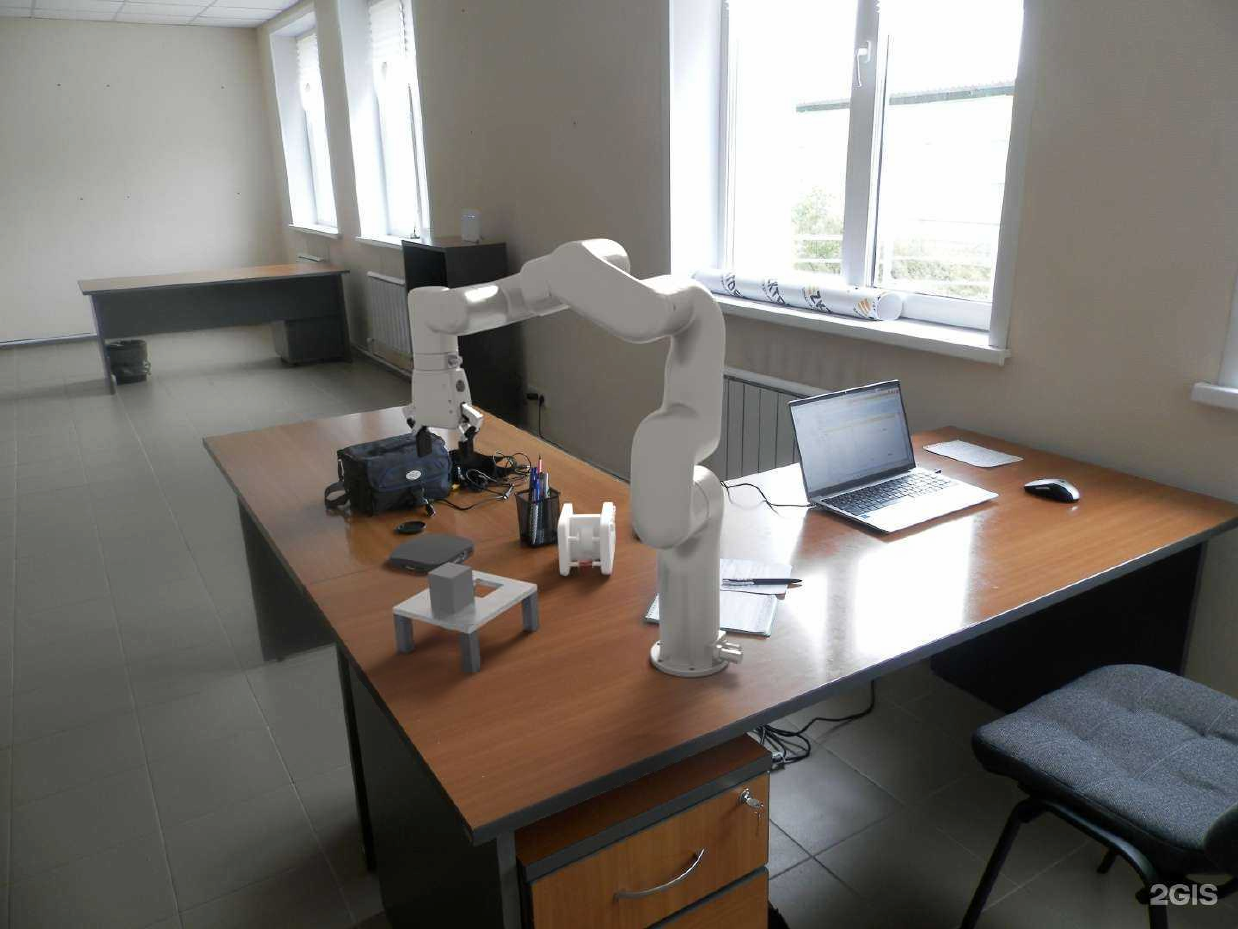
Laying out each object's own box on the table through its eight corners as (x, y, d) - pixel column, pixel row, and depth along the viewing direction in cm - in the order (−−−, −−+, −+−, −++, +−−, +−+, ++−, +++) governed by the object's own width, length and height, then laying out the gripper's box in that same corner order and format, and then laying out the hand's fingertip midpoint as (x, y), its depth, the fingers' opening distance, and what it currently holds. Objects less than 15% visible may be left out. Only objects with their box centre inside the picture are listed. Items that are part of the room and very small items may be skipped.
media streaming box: (426, 542, 197) (424, 529, 196) (481, 551, 191) (480, 538, 190) (382, 567, 185) (380, 553, 184) (440, 577, 178) (438, 563, 178)
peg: (476, 620, 148) (471, 567, 146) (456, 632, 144) (451, 578, 142) (453, 614, 151) (448, 562, 148) (433, 626, 147) (427, 573, 144)
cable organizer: (567, 551, 188) (564, 499, 185) (617, 551, 188) (615, 498, 184) (559, 581, 174) (556, 524, 170) (613, 580, 173) (611, 523, 170)
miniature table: (539, 627, 155) (536, 584, 153) (472, 674, 140) (468, 628, 138) (468, 608, 163) (464, 568, 161) (397, 651, 148) (392, 607, 146)
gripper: (490, 360, 150) (498, 458, 155) (414, 354, 158) (423, 448, 163) (461, 368, 144) (470, 470, 149) (383, 362, 152) (394, 458, 157)
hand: (445, 458), depth 156 cm, fingers open, 9 cm apart
